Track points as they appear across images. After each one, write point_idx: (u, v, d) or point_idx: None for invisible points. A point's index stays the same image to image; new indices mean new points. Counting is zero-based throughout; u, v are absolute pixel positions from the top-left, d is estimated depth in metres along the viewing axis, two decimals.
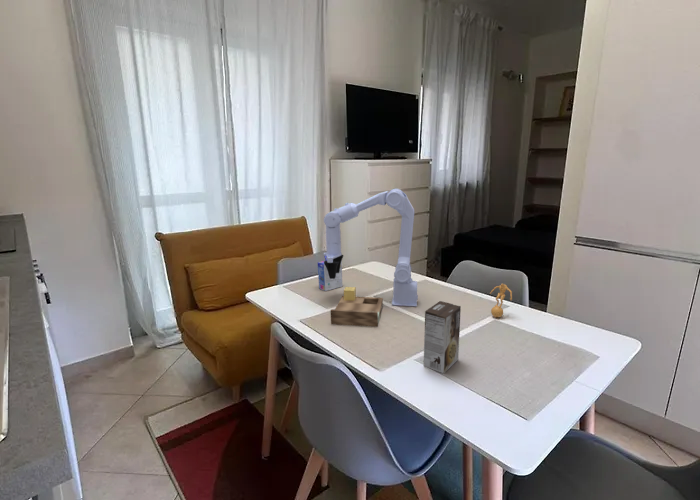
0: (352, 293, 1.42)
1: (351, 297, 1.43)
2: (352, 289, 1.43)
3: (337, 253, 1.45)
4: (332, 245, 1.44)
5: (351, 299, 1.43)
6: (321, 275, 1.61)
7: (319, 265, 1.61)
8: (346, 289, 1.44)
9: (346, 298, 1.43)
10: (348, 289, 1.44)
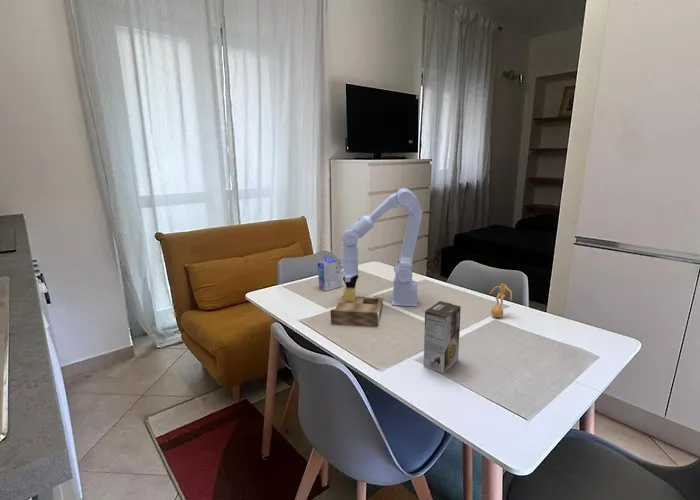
0: (352, 294, 1.42)
1: (351, 298, 1.42)
2: (352, 290, 1.43)
3: (354, 272, 1.43)
4: (349, 264, 1.42)
5: (351, 300, 1.42)
6: (321, 275, 1.61)
7: (319, 265, 1.61)
8: (346, 290, 1.43)
9: (346, 298, 1.42)
10: (347, 290, 1.43)
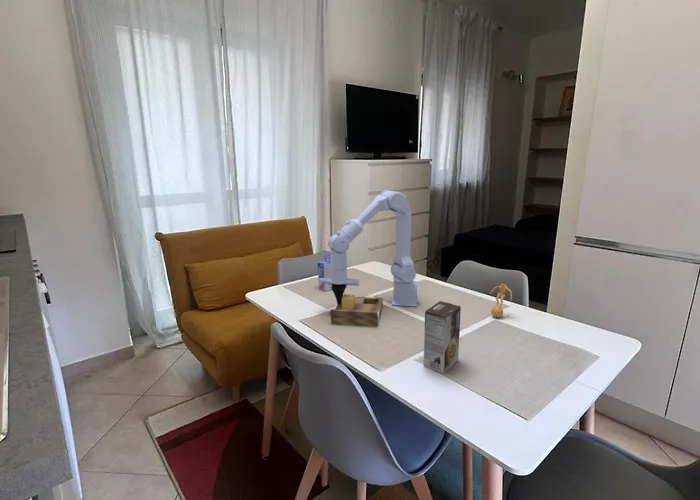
0: (351, 301, 1.34)
1: (350, 305, 1.35)
2: (351, 297, 1.35)
3: (332, 279, 1.34)
4: None
5: (349, 307, 1.35)
6: (321, 275, 1.61)
7: (319, 265, 1.61)
8: (344, 297, 1.35)
9: (344, 306, 1.35)
10: (346, 297, 1.35)
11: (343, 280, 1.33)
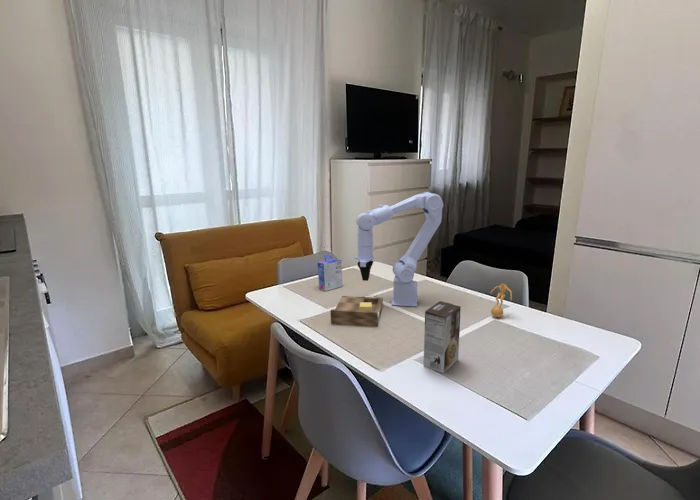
0: (369, 309, 1.26)
1: None
2: (368, 305, 1.27)
3: (369, 257, 1.39)
4: (364, 248, 1.38)
5: None
6: (321, 275, 1.61)
7: (319, 265, 1.61)
8: (362, 305, 1.27)
9: None
10: (363, 305, 1.27)
11: None
